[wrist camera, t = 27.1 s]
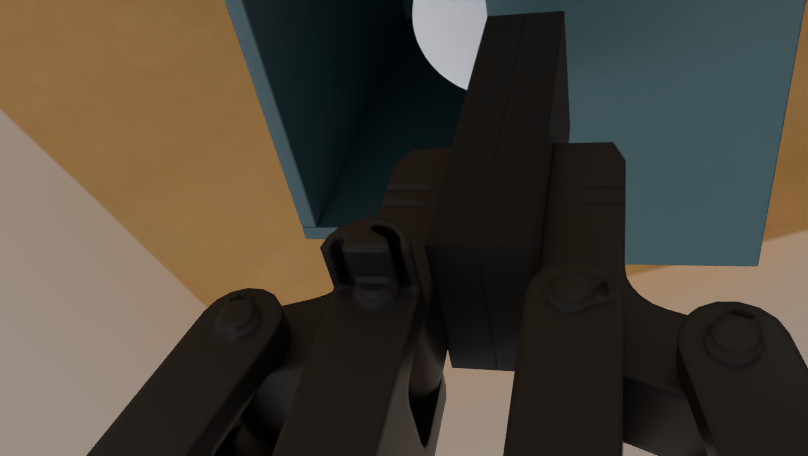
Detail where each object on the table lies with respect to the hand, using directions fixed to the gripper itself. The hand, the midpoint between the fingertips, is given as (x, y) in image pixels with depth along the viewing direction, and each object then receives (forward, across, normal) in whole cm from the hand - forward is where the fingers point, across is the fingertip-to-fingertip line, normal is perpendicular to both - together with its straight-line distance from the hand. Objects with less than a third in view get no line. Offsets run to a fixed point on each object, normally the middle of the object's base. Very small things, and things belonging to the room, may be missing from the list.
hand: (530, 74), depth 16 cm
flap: (+2, +2, -2) cm, 3 cm away
